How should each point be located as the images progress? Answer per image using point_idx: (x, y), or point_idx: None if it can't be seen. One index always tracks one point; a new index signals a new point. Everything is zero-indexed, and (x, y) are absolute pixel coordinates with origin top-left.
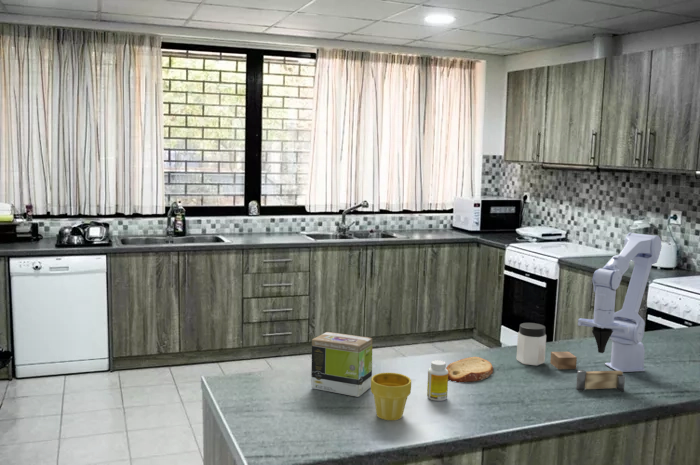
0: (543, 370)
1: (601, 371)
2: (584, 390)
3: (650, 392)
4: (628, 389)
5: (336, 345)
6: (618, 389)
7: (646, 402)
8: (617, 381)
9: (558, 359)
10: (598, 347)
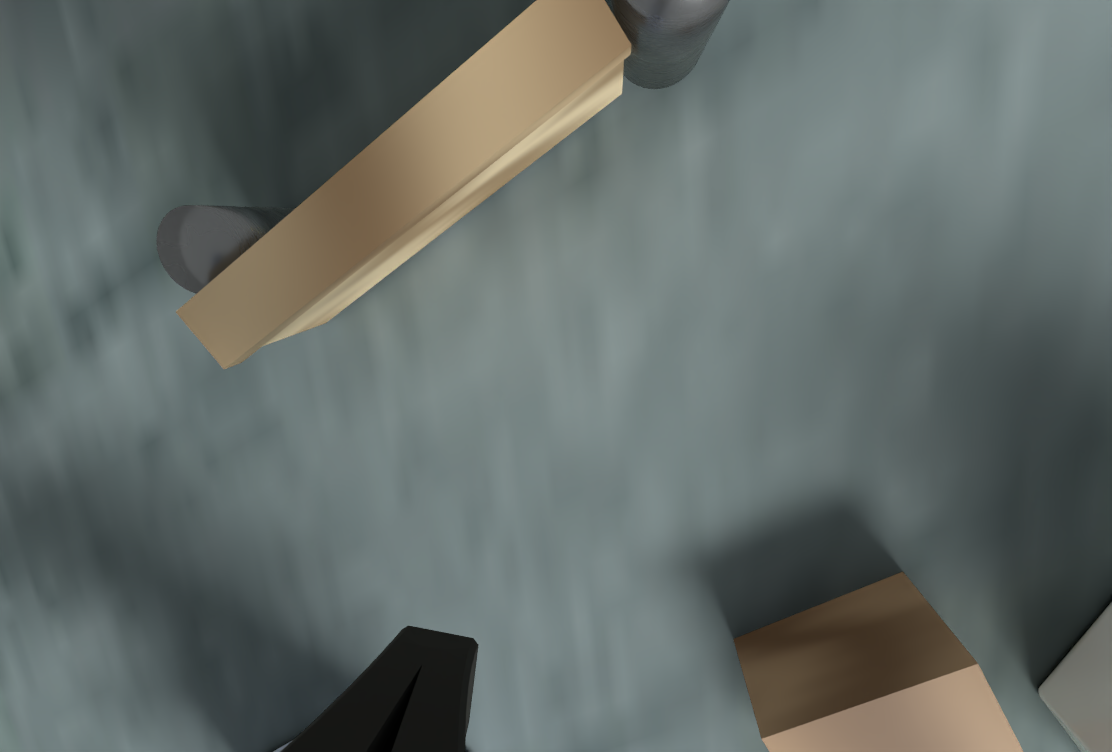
0: (1060, 476)
1: (411, 193)
2: None
3: (91, 325)
4: None
5: None
6: None
7: (38, 14)
8: None
9: (963, 647)
10: (448, 700)
